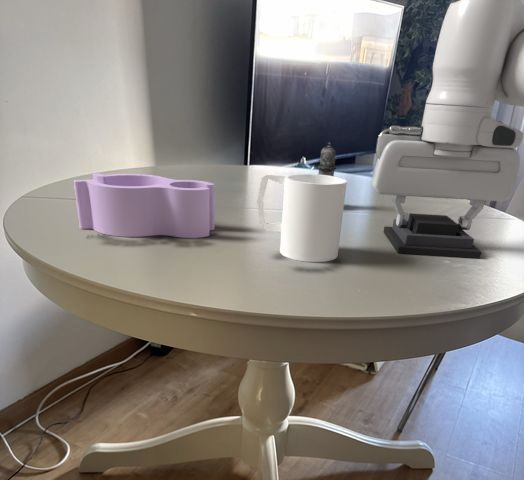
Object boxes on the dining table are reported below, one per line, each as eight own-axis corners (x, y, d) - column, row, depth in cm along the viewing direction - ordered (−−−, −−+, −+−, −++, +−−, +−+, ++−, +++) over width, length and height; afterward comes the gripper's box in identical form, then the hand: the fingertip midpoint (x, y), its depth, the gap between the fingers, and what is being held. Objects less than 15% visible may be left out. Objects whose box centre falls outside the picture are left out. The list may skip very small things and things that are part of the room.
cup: (263, 238, 73) (266, 169, 68) (341, 248, 70) (350, 177, 66) (246, 253, 66) (249, 177, 61) (332, 265, 64) (342, 186, 59)
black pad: (442, 234, 77) (446, 215, 76) (453, 244, 72) (458, 224, 70) (405, 231, 77) (408, 213, 76) (414, 242, 72) (418, 222, 71)
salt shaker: (315, 201, 100) (321, 139, 94) (341, 206, 97) (349, 142, 92) (303, 206, 95) (308, 141, 90) (330, 211, 93) (337, 144, 87)
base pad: (454, 236, 80) (458, 221, 79) (480, 258, 70) (484, 241, 69) (383, 232, 80) (385, 217, 79) (397, 253, 70) (401, 236, 69)
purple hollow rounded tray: (219, 223, 80) (220, 180, 77) (202, 243, 69) (202, 194, 66) (105, 213, 82) (100, 171, 79) (70, 232, 71) (64, 183, 68)
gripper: (383, 126, 65) (367, 228, 71) (535, 134, 64) (505, 236, 71) (375, 123, 70) (361, 218, 77) (516, 131, 70) (489, 226, 76)
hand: (432, 227), depth 74 cm, fingers open, 8 cm apart
